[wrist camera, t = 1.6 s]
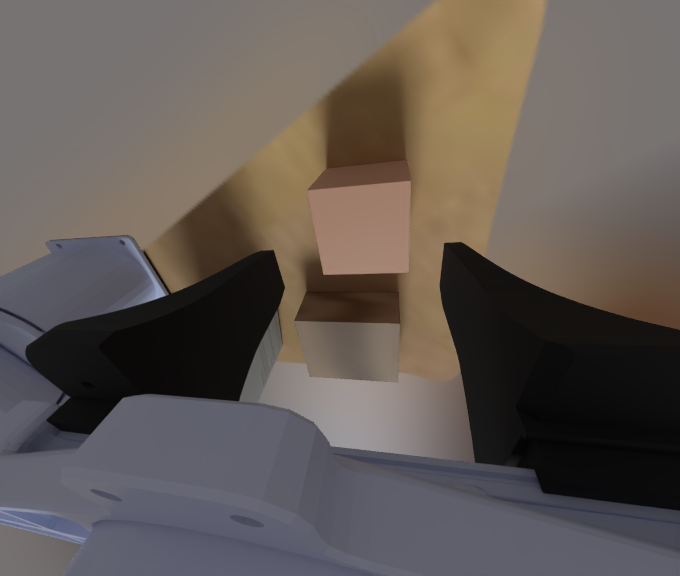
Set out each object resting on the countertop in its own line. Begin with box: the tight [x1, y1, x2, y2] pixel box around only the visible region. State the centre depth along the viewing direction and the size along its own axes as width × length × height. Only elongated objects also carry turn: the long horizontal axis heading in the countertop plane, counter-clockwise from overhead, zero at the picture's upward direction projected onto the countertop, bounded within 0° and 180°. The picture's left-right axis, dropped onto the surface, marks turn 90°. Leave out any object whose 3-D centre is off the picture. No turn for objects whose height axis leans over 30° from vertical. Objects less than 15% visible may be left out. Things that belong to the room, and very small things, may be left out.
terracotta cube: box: [307, 160, 411, 275], centre depth 16 cm, size 5×5×5 cm
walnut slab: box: [294, 292, 400, 382], centre depth 23 cm, size 8×7×4 cm
